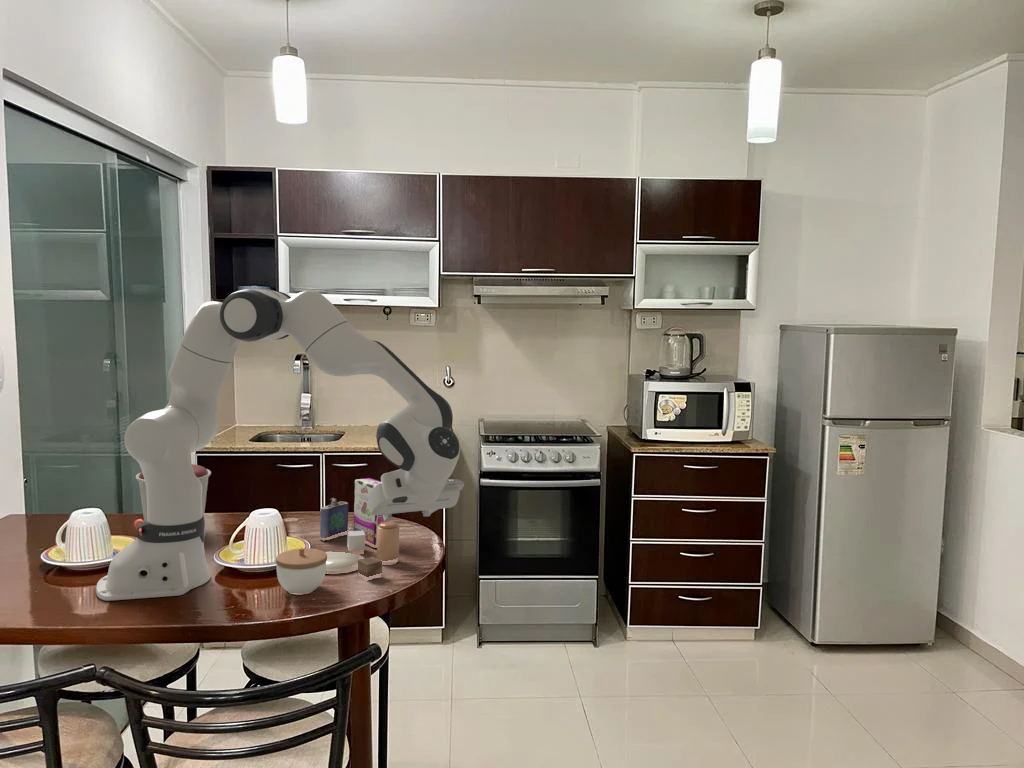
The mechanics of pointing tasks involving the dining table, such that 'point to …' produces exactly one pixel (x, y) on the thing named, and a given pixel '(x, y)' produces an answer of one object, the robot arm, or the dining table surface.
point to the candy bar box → (365, 510)
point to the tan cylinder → (387, 541)
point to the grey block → (355, 540)
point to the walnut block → (369, 566)
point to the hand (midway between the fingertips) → (406, 515)
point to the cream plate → (340, 561)
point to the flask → (334, 518)
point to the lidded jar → (301, 569)
